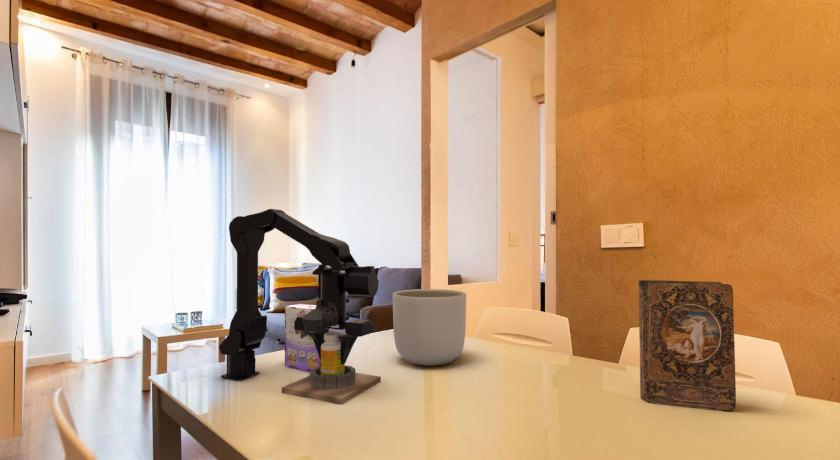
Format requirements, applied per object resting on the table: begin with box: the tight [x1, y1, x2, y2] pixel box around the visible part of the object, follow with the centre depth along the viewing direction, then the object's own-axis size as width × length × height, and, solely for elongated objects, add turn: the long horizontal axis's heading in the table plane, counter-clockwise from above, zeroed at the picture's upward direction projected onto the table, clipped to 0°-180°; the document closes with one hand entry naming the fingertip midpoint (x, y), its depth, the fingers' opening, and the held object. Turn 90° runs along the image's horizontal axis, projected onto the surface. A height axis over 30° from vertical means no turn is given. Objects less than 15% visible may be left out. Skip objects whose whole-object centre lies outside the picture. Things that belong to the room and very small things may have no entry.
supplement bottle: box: [321, 331, 346, 376], centre depth 99 cm, size 5×5×10 cm
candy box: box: [284, 303, 337, 373], centre depth 115 cm, size 14×6×16 cm, turn 58°
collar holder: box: [281, 364, 382, 405], centre depth 99 cm, size 16×16×4 cm
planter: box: [392, 288, 467, 367], centre depth 122 cm, size 21×21×19 cm
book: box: [638, 279, 737, 412], centre depth 90 cm, size 16×6×25 cm, turn 71°
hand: (332, 362), depth 99 cm, fingers closed on supplement bottle, 5 cm apart
